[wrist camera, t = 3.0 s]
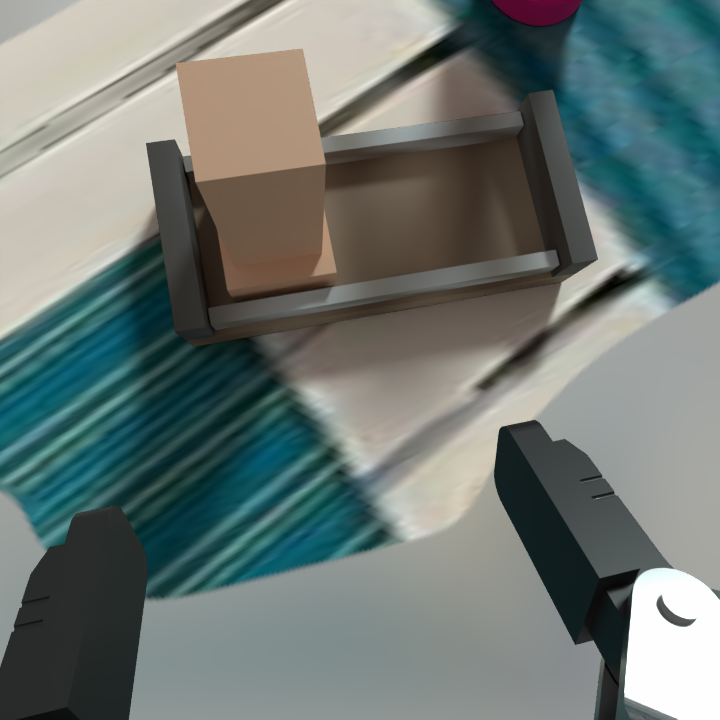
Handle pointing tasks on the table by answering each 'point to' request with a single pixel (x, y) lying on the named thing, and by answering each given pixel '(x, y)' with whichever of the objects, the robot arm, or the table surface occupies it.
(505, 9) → the pepper mill
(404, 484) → the table surface
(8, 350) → the table surface
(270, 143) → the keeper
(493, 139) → the track
